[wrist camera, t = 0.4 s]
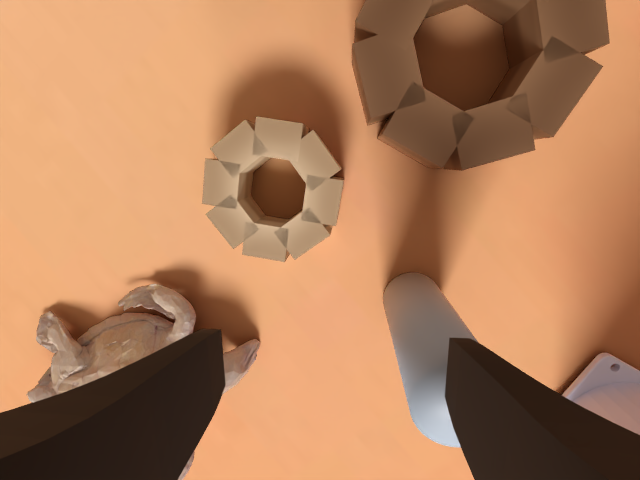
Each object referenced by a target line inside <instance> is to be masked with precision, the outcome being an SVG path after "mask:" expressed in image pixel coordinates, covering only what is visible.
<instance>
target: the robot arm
mask: <svg viewBox="0 0 640 480" xmlns="http://www.w3.org/2000/svg"><path fill="white" fill-rule="evenodd" d="M613 364H615V365H614V366H613V367H611V365H613ZM225 385H226V383H225V372H224V360H223V348H222V337H221V330H220V329H201V330H199V331H196V332H194V333H192V334H189V335H187V336H185V337H183V338H181V339H179V340H177V341H175V342H174V343H172V344H170V345H168V346H166V347H164V348H162V349H160V350H158V351H156V352H154V353H152V354H150V355H148V356H146V357H144V358H142V359H140V360H138V361H136V362H134V363H132V364H129V365H127V366H125V367H123V368H121V369H119V370H117V371H115V372H113V373H110V374H108V375H106V376H104V377H101V378H99V379H96V380H94V381H92V382H89V383H87V384H84V385H81V386H79V387H76V388H74V389H71V390H69V391H66V392H63V393H60V394H58V395H55V396H51V397H48V398H45V399H42V400H39V401H36V402H33V403H30V404H27V405H24V406H21V407H18V408H15V409H12V410H9V411H5V412H2V413H0V480H178V479H179V477H180V475H181V473H182V471H183V470H184V468H185V466H186V464H187V462H188V461H189V459H190V457H191V455H192V454H193V452H194V450H195V448H196V446H197V445H198V443H199V441H200V439H201V438H202V436H203V434H204V432H205V430H206V428H207V427H208V425H209V423H210V421H211V419H212V417H213V415H214V413H215V411H216V409H217V406H218V404H219V401H220V399H221V396H222V393H223V391H224V388H225ZM445 400H446V403H447V407H448V411H449V415H450V418H451V421H452V425H453V428H454V431H455V434H456V436H457V439H458V441H459V443H460V446H461V448H462V451H463V453H464V456H465V458H466V460H467V463H468V465H469V467H470V470H471V472H472V475H473V477H474V479H475V480H640V371H639V370H638V369H636V368H634V367H632V366H631V365H629V364H627V363H625V362H623V361H622V360H620V359H618V358H616V357H615V356H613V355H611V354H609V353H600V354H598V355H597V356H596V357H595V358H594V359H593V361H592V362H591V363H590V364H589V365H588V366H587V367H586V368H585V369H584V371H583V372H582V373H581V374H580V375H579V376H578V377H577V378H576V380H575V381H574V382H573V383H572V384H571V385H570V386H569V387H568V389H567V390H566V391H565V392H564V393H563V394H562V395H560V394H559V393H557V392H555V391H554V390H552V389H550V388H548V387H547V386H545V385H543V384H542V383H540V382H538V381H537V380H535V379H534V378H532V377H530V376H529V375H527V374H526V373H524V372H522V371H521V370H519V369H518V368H516V367H515V366H513V365H512V364H510V363H509V362H507V361H506V360H504V359H503V358H501V357H500V356H498V355H497V354H495V353H494V352H492V351H490V350H489V349H487V348H486V347H484V346H483V345H481V344H480V343H478V342H476V341H474V340H473V339H471V338H449V349H448V361H447V374H446V386H445Z"/></svg>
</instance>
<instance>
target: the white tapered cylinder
mask: <svg viewBox="0 0 640 480" xmlns="http://www.w3.org/2000/svg"><path fill="white" fill-rule="evenodd" d="M383 304H384V308H385V312H386V316H387V320H388V324H389V328H390V332H391V337H392V341H393V345H394V349H395V353H396V357H397V361H398V365H399V369H400V373H401V377H402V381H403V385H404V389H405V393H406V397H407V401H408V406H409V410H410V414H411V417H412V420H413V422H414V423H415V425H416V427H417V428H418V429H419V430H420V431H421V433H422V434H424V435H425V436H426V437H427V438H429V439H431V440H432V441H434V442H437V443H439V444H442V445H445V446H450V447H461V446H460V443H459V441H458V439H457V436H456V434H455V431H454V428H453V425H452V421H451V418H450V415H449V411H448V407H447V403H446V400H445V386H446V374H447V361H448V349H449V338H471V339H473V340H474V341H476V342H477V340H476V339H475V337H474V336H473V335H472V333H471V332H470V330H469V329H468V328H467V326H466V325H465V324H464V322H463V321H462V319H461V318H460V317H459V315H458V314H457V312H456V311H455V310H454V308H453V307H452V305H451V304H450V303H449V301H448V300H447V298H446V297H445V296H444V294H443V293H442V292H441V290H440V289H439V287H438V286H437V285H436V283H435V282H434V281H433V280H432V279H431V278H429V277H428V276H426V275H424V274H421V273H415V272H410V273H404V274H401V275H399V276H397V277H395V278H394V279H393V280H392V281H391V282H390V283H389V284H388V285H387V287H386V289H385V291H384V295H383Z"/></svg>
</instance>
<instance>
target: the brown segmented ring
mask: <svg viewBox="0 0 640 480" xmlns="http://www.w3.org/2000/svg"><path fill="white" fill-rule="evenodd" d="M464 4H468V5H469V6H471V7H473V8H474V9H476V10H478V11H479V12H481V13H483V14H484V15H486V16H488V17H489V18H491V19H493V20H495V21H496V22H498V23H500V24H501V25H503V31H504V38H505V44H506V50H507V56H508V63H509V71H508V72H507V74H506V75H505V77H504V78H503V80H502V82H501V83H500V85H499V86H498V88H497V89H496V91H495V93H494V94H493V96H492V97H491V99H490V100H489V102H488V104H486V105H483V106H480V107H476V108H473V109H470V110H466V111H463V110H461V109H459V108H458V107H456V106H454V105H452V104H451V103H449V102H447V101H446V100H444V99H442V98H440V97H439V96H437V95H435V94H434V93H432V92H430V91H428V90H427V89H425V88H423V83H422V78H421V73H420V69H419V64H418V59H417V54H416V50H415V45H414V40H413V38H414V36H415V34H416V33H417V31H418V29H419V27H420V25H421V24H422V22H423V20H424V18H427V17H430V16H433V15H436V14H439V13H442V12H444V11H447V10H450V9H453V8H456V7H459V6H462V5H464ZM609 43H610V42H609V32H608V22H607V12H606V2H605V0H366V1H365V3H364V5H363V7H362V9H361V11H360V13H359V15H358V17H357V19H356V21H355V39H354V43H353V49H352V66H353V70H354V74H355V78H356V82H357V86H358V90H359V94H360V98H361V102H362V106H363V110H364V114H365V118H366V122H367V125H370V124H373V123H377V122H380V121H383V120H386V119H388V120H387V122H386V124H385V125H384V127H383V129H382V131H381V132H380V134H379V136H378V138H377V139H379V140H381V141H383V142H384V143H386V144H388V145H390V146H391V147H393V148H395V149H397V150H398V151H400V152H402V153H403V154H405V155H407V156H409V157H410V158H412V159H414V160H416V161H417V162H419V163H421V164H423V165H424V166H426V167H430V168H444V169H449V170H465V169H469V168H473V167H476V166H480V165H483V164H487V163H490V162H494V161H498V160H501V159H505V158H508V157H512V156H515V155H519V154H523V153H526V152H530V151H533V150H535V145H534V139H542V138H550V137H554V135H555V134H556V132H557V131H558V130H559V128H560V127H561V125H562V124H563V123H564V121H565V120H566V118H567V117H568V115H569V114H570V113H571V111H572V110H573V108H574V107H575V106H576V104H577V103H578V101H579V100H580V98H581V97H582V96H583V94H584V93H585V91H586V90H587V88H588V87H589V86H590V84H591V83H592V81H593V80H594V79H595V77H596V76H597V74H598V73H599V71H600V70H601V69H602V67H603V66H602V65H600V64H598V63H597V62H595V61H593V60H592V59H590V58H588V57H587V56H585V54H587V53H589V52H592V51H594V50H596V49H598V48H600V47H603V46H605V45H607V44H609Z"/></svg>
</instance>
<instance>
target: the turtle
mask: <svg viewBox="0 0 640 480" xmlns="http://www.w3.org/2000/svg"><path fill="white" fill-rule="evenodd" d="M118 305H119V306H120V307H121V306H122V305H124V307H123V309H124V311H125V310H126V309H128V308H130V307H134V308H135V307H138V306H141V305H142V306H143V307H144V308H147V309H154V310H156V311H158V312H161V313H163V314H165V315H166V317H169V318H172V319H175V320H176V321H175V323H172V322H170V321H168V320H166V319H164V318H162V317H160V316H157V315H156V316H155V315H152V314H148V313H123V314H122V315H118V316H111V317H109V318H107V319H105V320H104V321H102V322H101V323H99V324H96V325H94V326H92V327H91V328H89V329H88V331H87V332H86V333H84V334H83V335H82V336H80V337H79V338H78V340H77V341H75V340H74V339H73V338H72V336H71V335H70V333H69V332H68V330H67V328H66V327H65V326H64V324H63V323H62V322H61V321H60V319H59V318H58V317H56V316H55V315H54V314H53V313H52V312H50V311H49V312H48V313H45V314H43V315H41V317H40V320H39V325H38V328H37V337H36V340H37V342H38V343H39V344H40V345H42V346H44V347H45V348H47V349H48V350H49V351H51V352H53V353H55V354H54V356H53V358H52V363H51V367H50V368H49V369H48V370H47V371H46V373H45V374H44V375H43V376H42V378H41V379H40V380H39V382H38V383H39V384H38V385H37V386H36V387H35V388H34V389H32V390H30V391H28V394H27V395H28V398H29V401H31V403H33V402H36V401H39V400H42V399H45V398H48V397H51V396H55V395H58V394H60V393H63V392H66V391H69V390H71V389H74V388H76V387H79V386H81V385H84V384H87V383H89V382H92V381H94V380H96V379H99V378H101V377H104V376H106V375H108V374H110V373H113V372H115V371H117V370H119V369H121V368H123V367H125V366H127V365H129V364H132V363H134V362H136V361H138V360H140V359H142V358H144V357H146V356H148V355H150V354H152V353H154V352H156V351H158V350H160V349H162V348H164V347H166V346H168V345H170V344H172V343H174V342H175V341H177V340H179V339H181V338H183V337H185V336H187V335H189V334H192V333H193V329H194V325H195V321H196V314H195V310H194V309H193V307H192V305H191V304H190V302H189V301H188V300H187V299H186V298H184V297H183V296H182V295H181V294H180V293H178V292H176V291H174V290H172V289H170V288H168V287H165V286H162V285H158V284H151V285H147V286H142V287H138V288H136V289H134V290H132V291H130V292H129V294H127V295H126V296H125V297H123V298H122V299H121V300H120V301H119V303H118ZM158 305H160V306H158ZM259 346H260V341H258V340H257V339H253V340H250V341H247V342H246V343H244V344H243V345H241V346H239V347H237V348H235V349H233V350H231V351H229V352H225V353H224V354H223V360H224V372H225V383H226V385H225V388H224V391H223V393H222V394H224V393H225V392H226V391H228V390H229V389H231V388H232V387H234V386H235V385H237V384H238V383H239V381H240V379H241V378H242V377H244V375H245V374H246V373H247V372H248V370H249V368H250V367H251V365H252V364H253V362H254V361H255V360H256V356H257V354H256V352H257V350H258V349H259ZM193 459H194V452H193V454H192V455H191V457H190V459H189V461H188V462H187V464H186V466H185V468H184V470H183V471H182V473H181V475H180V477H179V479H178V480H183V478H184V477H185V475H186V474H187V472H188V471H189V469H190V467H191V464H192V462H193Z"/></svg>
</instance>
